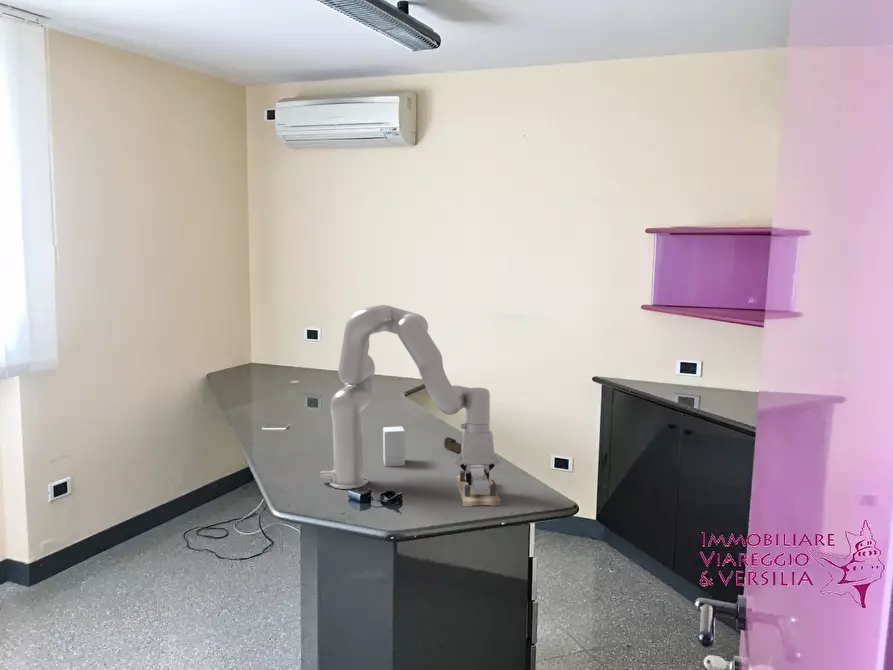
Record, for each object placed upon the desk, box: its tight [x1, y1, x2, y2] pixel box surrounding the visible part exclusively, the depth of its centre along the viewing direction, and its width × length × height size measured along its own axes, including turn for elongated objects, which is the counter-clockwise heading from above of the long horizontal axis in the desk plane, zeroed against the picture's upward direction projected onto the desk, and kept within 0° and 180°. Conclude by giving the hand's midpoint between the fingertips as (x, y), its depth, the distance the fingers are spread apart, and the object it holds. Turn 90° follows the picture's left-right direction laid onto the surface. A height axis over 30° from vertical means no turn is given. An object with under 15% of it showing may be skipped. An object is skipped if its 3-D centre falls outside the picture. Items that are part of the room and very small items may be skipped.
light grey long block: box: [470, 465, 488, 495], centre depth 213 cm, size 4×18×4 cm, turn 5°
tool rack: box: [455, 470, 502, 507], centre depth 213 cm, size 11×24×4 cm, turn 5°
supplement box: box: [382, 426, 406, 467], centre depth 243 cm, size 7×7×13 cm
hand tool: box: [443, 436, 462, 454], centre depth 257 cm, size 19×4×5 cm, turn 33°
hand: (477, 483), depth 213 cm, fingers closed on light grey long block, 4 cm apart
